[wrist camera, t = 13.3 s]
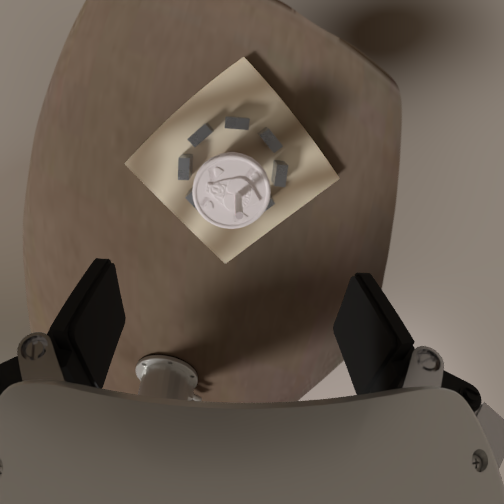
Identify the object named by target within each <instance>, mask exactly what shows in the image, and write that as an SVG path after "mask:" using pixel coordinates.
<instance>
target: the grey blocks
mask: <svg viewBox="0 0 504 504" xmlns="http://www.w3.org/2000/svg"><path fill="white" fill-rule="evenodd" d="M249 121H250V118H245V117H232V116H226V117H225V128H228V129H241V130H249ZM213 131H214V129H213V128H212V127H211V126H210V125H209V124H208V123H205V124H204V125H203V126H202V127H200V128H199V129H198V130H197V131H196V132H195V133H194V134H192V135H191V136H190V137H189V138H188V139H187V140H188V141H189V142H190V143H191V144H192V145H193V146H194V147H196V146H197V145H198V144H200V143H201V142H202V141H203V140H204V139H205V138H206V137H208V136H209V135H210V134H211V133H212V132H213ZM257 134H258V135H259V136H260V137H261V138H262V140H263V141H264V142H265V143H266V144H267V146H268V147H269V148H270V149H271V150H272V152H273V153H275V152H276V151H278V150H279V149H280V148H282V147H283V146H282V144H281V143H280V142H279V141H278V139H277V138H276V137H275V136H274V134H273V133H272V132H271V131H270V129H269V128H267V127H265V128H264V129H262V130H261V131H260V132H258V133H257ZM192 167H193V154H182V155H181V156H180V157H179V158H178V180H189V179H190V178H191V176H192ZM287 172H288V165H287V163H286V162H285V161H280V160H274V162H273V170H272V178H271V181H272V183H273V185H274V186H279V187H285V186H286V179H287ZM192 189H193V187H192V188H191V189H190V190H189V191H188V193H187V195H186V197H185V198H186V199H187V200H188V201H189V202H190V203H191V204H192V205H193V207H194V208H195V209H196V207H195V204H194V201H193V196H192ZM274 204H275V202H274V199H273V197H272V196H271V194H270V200H269V204H268V206H267V208H266V210H268V209H269V208H270V207H272V206H273V205H274ZM196 210H197V209H196ZM266 210H265V211H266ZM197 211H198V210H197ZM265 211H264V212H265Z"/></svg>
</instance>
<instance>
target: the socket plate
mask: <svg viewBox="0 0 504 504" xmlns="http://www.w3.org/2000/svg"><path fill="white" fill-rule="evenodd" d="M226 116H232V117H245V118H250V121H249V130H241V129H228V128H225V117H226ZM205 123H208V124H209V125H210V126H211V127H212V128H213V129H214V131H213V132H212V133H211V134H210V135H209V136H208V137H206V138H205V139H204V140H203V141H202V142H201V143H200V144H198V145H197V146H196V147H194V146H193V145H192V144H191V143H190V142H189V141H188V140H187V139H188V138H189V137H190V136H191V135H192V134H194V133H195V132H196V131H197V130H198V129H199V128H200V127H202V126H203V125H204V124H205ZM265 127H267V128H269V129H270V131H271V132H272V133H273V134H274V136H275V137H276V138H277V139H278V141H279V142H280V143H281V144H282V146H283V147H282V148H280V149H279V150H278V151H276V152H275V153H273V152H272V150H271V149H270V148H269V147H268V146H267V144H266V143H265V142H264V141H263V140H262V138H261V137H260V136H259V135H258V134H257V133H258V132H260V131H261V130H262V129H264V128H265ZM227 152H237V153H242V154H244V155H247V156H249V157H252V158H253V159H254V160H256V161H257V162H258V163H260V165H261V166H262V167H263V169H264V170H265V171H266V174H267V176H268V179H269V183H270V189H271V196H272V197H273V199H274V202H275V204H274V205H273V206H272V207H270V208H269V209H268V210H266V211H265V212H264V213H263V214H262V215H261V216H260V217H259V218H258V219H257V220H256V221H255V222H253V223H251V224H249V225H247V226H245V227H241V228H236V229H227V228H221V227H218V226H215V225H213V224H211V223H209V222H208V221H207V220H205V219H204V218H203V217H202V216H201V215H200V213H199V212H198V211H197V210H196V209H195V208H194V207H193V205H192V204H191V203H190V202H189V201H188V200H187V199H186V198H185V197H186V195H187V193H188V191H189V190H190V189H191V188H192V187H193V182H194V179H195V176H196V174H197V171H198V170H199V169H200V167H201V166H202V165H203V164H204V163H205V162H206V161H208V160H209V159H210V158H212V157H214V156H216V155H219V154H221V153H227ZM182 154H193V167H192V176H191V178H190V179H189V180H178V158H179V157H180V156H181V155H182ZM274 160H280V161H285V162H286V163H287V165H288V172H287V179H286V186H285V187H279V186H274V185H273V183H272V181H271V178H272V170H273V162H274ZM125 165H126V166H127V167H128V168H129V169H130V170H131V171H132V172H133V173H134V174H135V175H136V176H137V177H138V178H139V179H140V180H141V181H142V182H143V183H144V184H145V185H146V186H147V187H148V188H149V189H150V190H151V191H152V192H153V193H154V194H155V195H156V196H157V197H158V198H159V199H160V200H161V201H162V202H163V203H164V204H165V205H166V206H167V207H168V208H169V209H170V210H171V211H172V212H173V213H174V214H175V215H176V216H177V217H178V218H179V219H180V220H181V221H182V222H183V223H184V224H185V225H186V226H187V227H188V228H189V229H190V230H191V231H192V232H193V233H194V234H195V235H196V236H197V237H198V238H199V239H200V240H201V241H202V242H203V243H204V244H205V245H206V246H207V247H208V248H209V249H210V250H211V251H212V252H214V253H215V254H216V255H217V256H218V257H219V258H220V259H221V260H222V261H223V262H224V263H225V264H226V263H227V262H229V261H230V260H231V259H233V258H234V257H235V256H236V255H238V254H239V253H240V252H242V251H243V250H244V249H246V248H247V247H248V246H250V245H251V244H252V243H254V242H255V241H256V240H258V239H259V238H260V237H262V236H263V235H265V234H266V233H267V232H269V231H270V230H271V229H273V228H274V227H275V226H277V225H278V224H279V223H281V222H282V221H283V220H285V219H286V218H287V217H289V216H290V215H291V214H293V213H294V212H295V211H297V210H298V209H299V208H301V207H302V206H303V205H305V204H306V203H307V202H309V201H310V200H311V199H313V198H314V197H316V196H317V195H318V194H320V193H321V192H322V191H324V190H325V189H326V188H328V187H329V186H330V185H332V184H333V183H334V182H336V181H337V180H338V179H340V178H339V177H338V175H337V174H336V172H335V171H334V169H333V168H332V166H331V165H330V163H329V162H328V160H327V159H326V158H325V156H324V155H323V153H322V152H321V151H320V149H319V148H318V146H317V145H316V144H315V142H314V141H313V139H312V138H311V137H310V135H309V134H308V133H307V131H306V130H305V129H304V127H303V126H302V125H301V123H300V122H299V121H298V120H297V118H296V117H295V116H294V114H293V113H292V112H291V111H290V109H289V108H288V107H287V106H286V104H285V103H284V102H283V101H282V99H281V98H280V97H279V96H278V95H277V93H276V92H275V91H274V90H273V89H272V88H271V86H270V85H269V84H268V83H267V82H266V81H265V79H264V78H263V77H262V76H261V75H260V74H259V73H258V72H257V70H256V69H255V68H254V67H253V66H252V65H251V64H250V63H249V62H248V61H247V60H246V58H245V57H243V58H241V59H240V60H239V61H237V62H236V63H235V64H233V65H232V66H230V67H229V68H228V69H226V70H225V71H224V72H223V73H221V74H220V75H219V76H217V77H216V78H215V79H214V80H212V81H211V82H210V83H209V84H207V85H206V86H205V87H204V88H202V89H201V90H200V91H199V92H198V93H197V94H195V95H194V96H193V97H192V98H191V99H190V100H188V101H187V102H186V103H185V104H184V105H183V106H182V107H180V108H179V109H178V110H177V111H176V112H175V113H174V114H173V115H172V116H171V117H170V118H169V119H167V120H166V121H165V122H164V123H163V124H162V125H161V126H160V127H159V128H158V129H157V130H156V131H155V132H154V133H153V134H152V135H151V136H150V137H149V138H148V139H147V140H146V141H145V142H144V143H143V144H142V145H141V146H140V147H139V149H138V150H137V151H136V152H135V153H134V154H133V155H132V156H131V157H130V158H129V159H128V160H127V162H126V163H125Z"/></svg>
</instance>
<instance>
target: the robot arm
mask: <svg viewBox="0 0 504 504" xmlns="http://www.w3.org/2000/svg"><path fill="white" fill-rule="evenodd" d="M124 324H125V312H124V308H123V304H122V299H121V294H120V289H119V284H118V279H117V274H116V268H115V265H114V263H111V261H110V260H109V259H99V258H96V259H95V260H94V261H93V263H92V264H91V265H90V267H89V268H88V270H87V271H86V272H85V274H84V275H83V277H82V278H81V280H80V281H79V283H78V284H77V286H76V287H75V289H74V290H73V292H72V293H71V295H70V296H69V298H68V299H67V301H66V302H65V304H64V306H63V307H62V309H61V310H60V312H59V314H58V315H57V317H56V319H55V320H54V322H53V324H52V325H51V327H50V330H49V332H48V333H47V335H46V334H45V333H42V332H35V333H31V334H29V335H27V336H26V337H24V338H23V339H22V340H21V342H20V343H19V346H18V348H17V355H18V356H17V357H14V358H12V359H10V360H8V361H6V362H3V363H2V364H0V504H504V485H503V481H502V478H501V475H500V472H499V467H500V465H501V463H502V461H503V458H504V419H503V418H502V417H501V416H499V415H498V414H497V413H496V412H495V411H494V410H493V409H492V408H490V407H489V406H488V405H487V404H486V403H485V402H484V403H483V404H481V396H480V393H479V391H478V390H477V389H476V388H475V387H474V386H473V385H471V384H470V383H468V382H466V381H464V380H462V379H460V378H458V377H456V376H454V375H452V374H450V373H448V372H446V371H444V363H443V360H442V357H441V356H440V355H439V353H437V352H436V351H435V350H434V349H432V348H429V347H426V346H420V347H417V348H416V349H414V347H413V344H414V340H413V339H412V337H411V335H410V333H409V332H408V330H407V329H406V327H405V325H404V324H403V322H402V320H401V319H400V317H399V316H398V314H397V313H396V311H395V309H394V308H393V306H392V305H391V303H390V302H389V301H388V299H387V297H386V296H385V294H384V293H383V291H382V290H381V288H380V287H379V285H378V284H377V282H376V281H375V280H374V278H373V277H372V275H371V274H370V273H356V274H355V276H352V277H351V279H350V282H349V285H348V287H347V290H346V293H345V296H344V299H343V302H342V304H341V307H340V310H339V313H338V315H337V318H336V320H335V323H334V327H333V330H334V334H335V337H336V340H337V342H338V345H339V348H340V350H341V353H342V356H343V358H344V361H345V364H346V366H347V369H348V372H349V375H350V377H351V380H352V383H353V385H354V388H355V391H356V394H357V395H354V396H347V397H339V398H331V399H321V400H309V401H294V402H272V403H224V402H203V401H201V400H202V397H200V396H198V395H196V394H194V392H193V389H194V388H195V387H196V385H197V383H198V375H197V373H196V371H195V370H194V369H193V368H192V367H191V366H190V365H189V364H187V363H186V362H184V361H182V360H180V359H177V358H174V357H170V356H165V355H151V356H147V357H144V358H142V359H140V360H139V361H138V363H137V366H136V374H137V377H138V378H139V379H140V381H141V383H140V387H139V391H138V395H136V394H130V393H124V392H117V391H112V390H106V389H102V387H103V385H104V382H105V379H106V375H107V372H108V369H109V366H110V363H111V360H112V358H113V355H114V352H115V349H116V346H117V343H118V341H119V338H120V335H121V332H122V330H123V327H124Z"/></svg>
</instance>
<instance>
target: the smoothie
mask: <svg viewBox="0 0 504 504" xmlns="http://www.w3.org/2000/svg"><path fill="white" fill-rule="evenodd" d="M270 194H271V189H270V183H269V179H268V176H267V174H266V171H265V170H264V169H263V167H262V166H261V165H260V163H258V162H257V161H256V160H254V159H253V158H252V157H249V156H247V155H244V154H242V153H237V152H227V153H221V154H219V155H216V156H214V157H212V158H210V159H209V160H208V161H206V162H205V163H204V164H203V165H202V166H201V167H200V169H199V170H198V171H197V174H196V176H195V179H194V182H193V189H192V196H193V201H194V204H195V207H196V209H197V210H198V212H199V213H200V215H201V216H202V217H203V218H204V219H205V220H207V221H208V222H209V223H211V224H213V225H215V226H218V227H221V228H227V229H236V228H241V227H245V226H247V225H249V224H251V223H253V222H255V221H256V220H257V219H258V218H259V217H260V216H261V215H262V214H263V213H264V211H265V210H266V208H267V206H268V204H269V200H270Z"/></svg>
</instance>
